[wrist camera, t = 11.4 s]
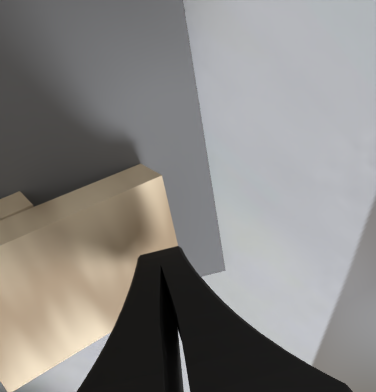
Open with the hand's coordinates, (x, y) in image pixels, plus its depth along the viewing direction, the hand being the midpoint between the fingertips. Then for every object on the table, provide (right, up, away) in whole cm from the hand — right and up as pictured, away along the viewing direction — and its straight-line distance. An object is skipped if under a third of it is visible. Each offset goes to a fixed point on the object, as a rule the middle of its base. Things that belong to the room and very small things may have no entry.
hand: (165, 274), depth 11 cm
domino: (0, +1, +2) cm, 3 cm away
